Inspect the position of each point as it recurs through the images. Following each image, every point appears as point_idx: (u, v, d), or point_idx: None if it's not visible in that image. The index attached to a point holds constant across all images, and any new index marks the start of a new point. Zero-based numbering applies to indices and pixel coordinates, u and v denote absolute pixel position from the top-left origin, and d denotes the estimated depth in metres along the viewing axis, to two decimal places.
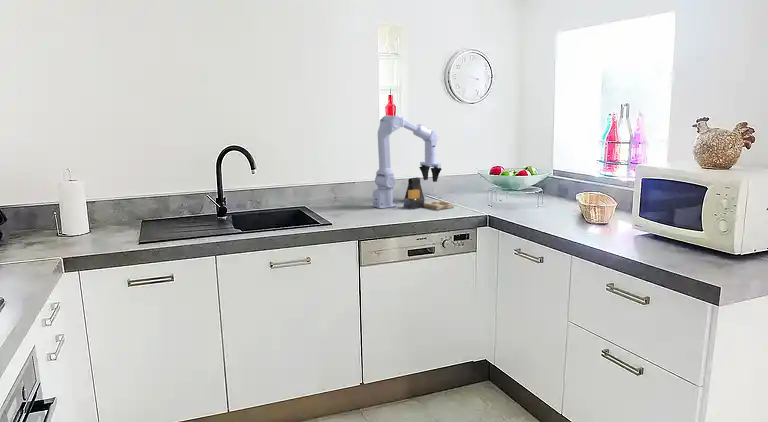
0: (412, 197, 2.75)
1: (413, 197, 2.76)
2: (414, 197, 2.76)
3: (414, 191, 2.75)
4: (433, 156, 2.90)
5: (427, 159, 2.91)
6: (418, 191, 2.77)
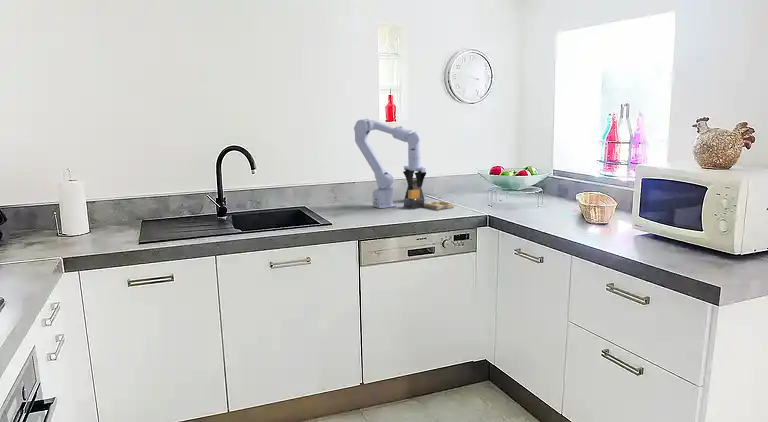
0: (412, 197, 2.75)
1: (413, 197, 2.76)
2: (414, 197, 2.76)
3: (414, 191, 2.75)
4: (417, 160, 2.71)
5: (411, 163, 2.72)
6: (418, 191, 2.77)
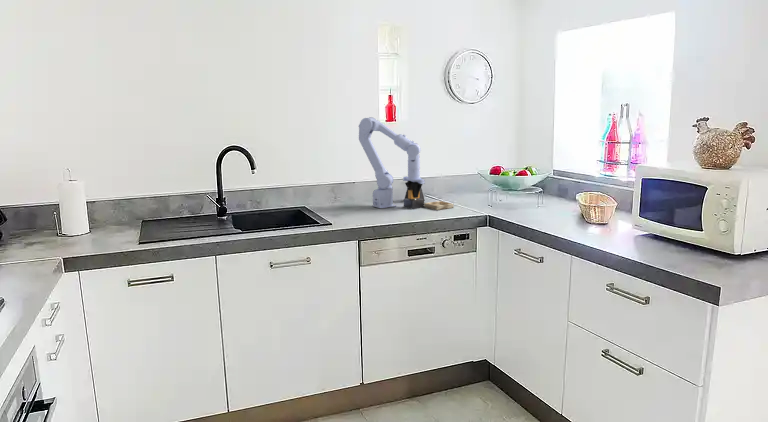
0: (412, 197, 2.75)
1: (413, 197, 2.76)
2: None
3: None
4: (416, 171, 2.72)
5: (410, 174, 2.73)
6: None
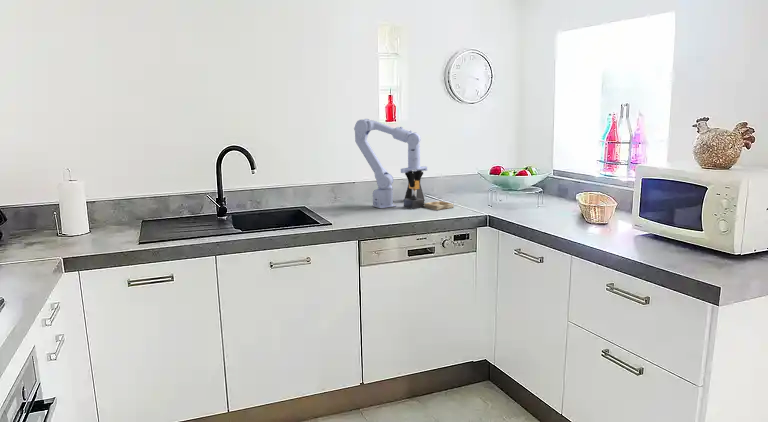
0: (409, 186, 2.77)
1: (410, 187, 2.77)
2: (411, 187, 2.76)
3: None
4: (408, 160, 2.73)
5: None
6: (414, 182, 2.74)
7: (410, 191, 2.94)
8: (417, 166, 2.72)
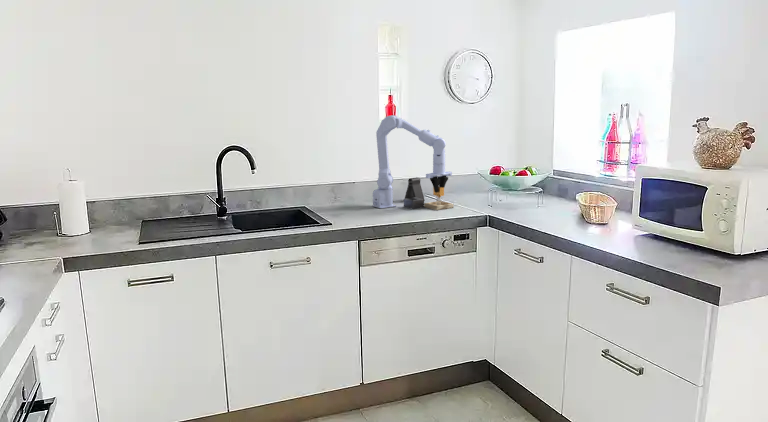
0: (434, 193, 2.76)
1: (435, 194, 2.76)
2: (435, 194, 2.75)
3: None
4: (434, 165, 2.71)
5: None
6: (439, 189, 2.73)
7: (410, 191, 2.94)
8: (442, 171, 2.71)
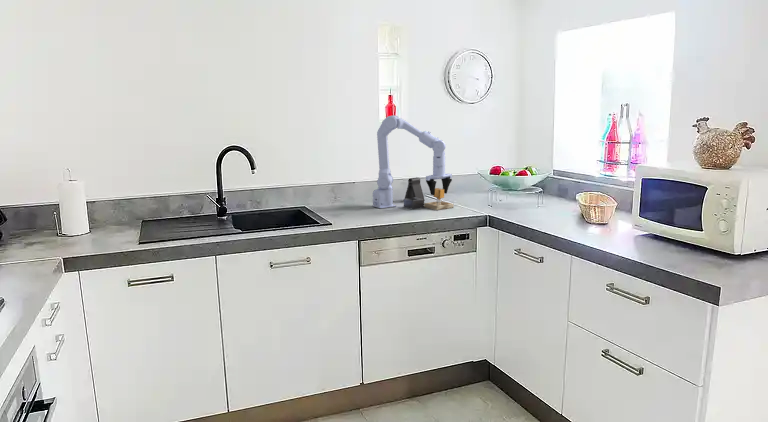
0: (434, 195, 2.76)
1: (435, 195, 2.76)
2: (436, 196, 2.75)
3: (436, 190, 2.75)
4: (434, 168, 2.72)
5: None
6: (439, 191, 2.73)
7: (410, 191, 2.94)
8: (442, 173, 2.71)
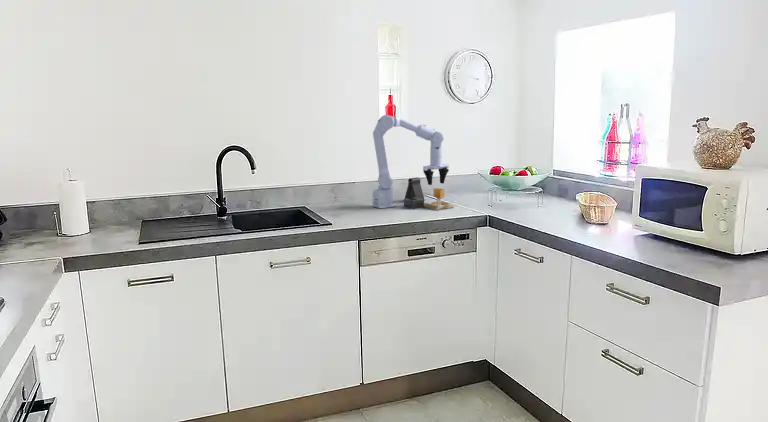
0: (434, 195, 2.76)
1: (435, 195, 2.76)
2: (436, 196, 2.75)
3: (436, 190, 2.75)
4: (431, 158, 2.78)
5: None
6: (439, 191, 2.73)
7: (410, 191, 2.94)
8: (439, 164, 2.78)
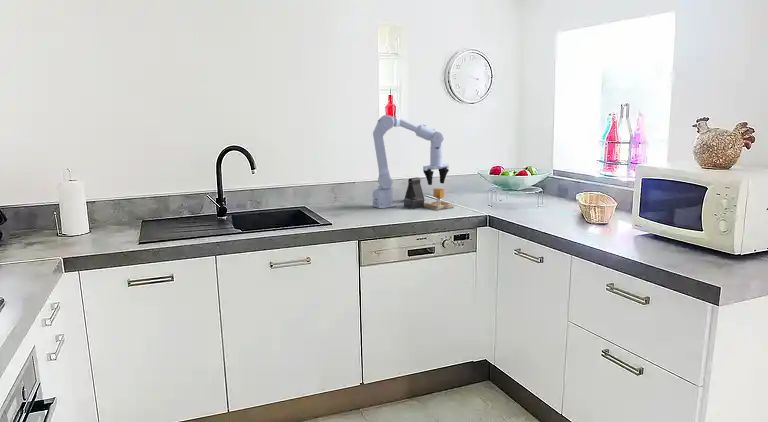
0: (434, 195, 2.77)
1: (435, 195, 2.76)
2: (435, 196, 2.76)
3: (435, 190, 2.75)
4: (431, 158, 2.78)
5: None
6: (439, 191, 2.73)
7: (410, 191, 2.94)
8: (439, 164, 2.78)
